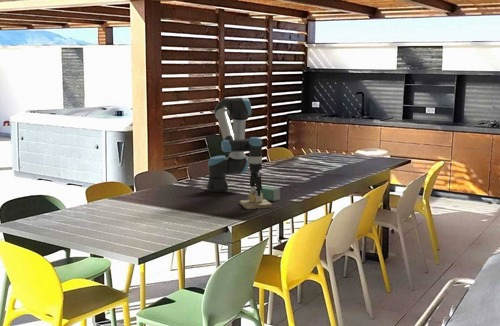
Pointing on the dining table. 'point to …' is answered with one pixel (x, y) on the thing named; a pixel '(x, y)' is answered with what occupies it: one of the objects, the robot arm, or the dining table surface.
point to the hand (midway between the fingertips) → (255, 199)
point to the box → (270, 193)
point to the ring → (254, 197)
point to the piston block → (255, 203)
